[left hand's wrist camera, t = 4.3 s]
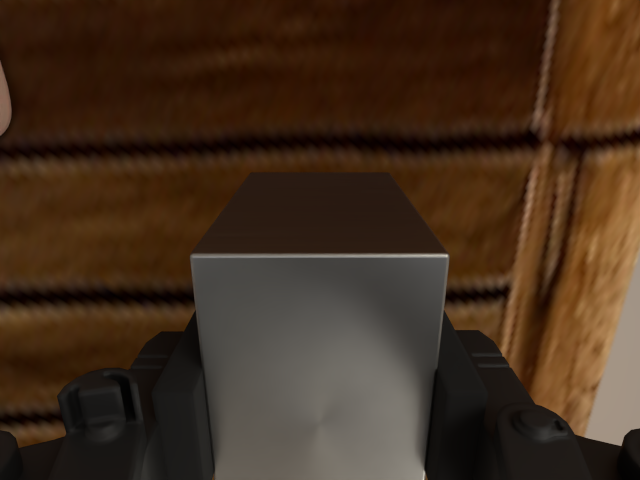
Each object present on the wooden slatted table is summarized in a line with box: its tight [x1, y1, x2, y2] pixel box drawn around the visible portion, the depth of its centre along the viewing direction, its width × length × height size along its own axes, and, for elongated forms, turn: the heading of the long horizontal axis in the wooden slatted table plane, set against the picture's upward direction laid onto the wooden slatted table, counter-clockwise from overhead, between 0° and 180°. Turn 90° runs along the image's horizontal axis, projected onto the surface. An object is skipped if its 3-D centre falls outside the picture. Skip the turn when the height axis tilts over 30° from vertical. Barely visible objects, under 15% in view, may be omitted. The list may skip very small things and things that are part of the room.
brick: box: [190, 173, 450, 480], centre depth 13 cm, size 8×5×7 cm, turn 0°
